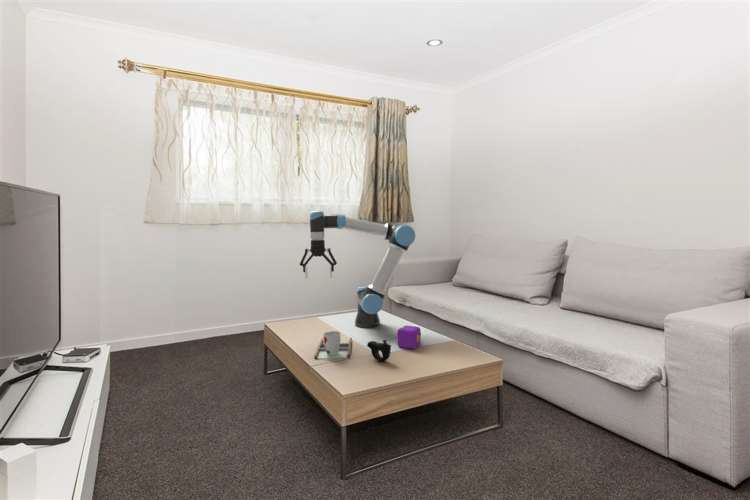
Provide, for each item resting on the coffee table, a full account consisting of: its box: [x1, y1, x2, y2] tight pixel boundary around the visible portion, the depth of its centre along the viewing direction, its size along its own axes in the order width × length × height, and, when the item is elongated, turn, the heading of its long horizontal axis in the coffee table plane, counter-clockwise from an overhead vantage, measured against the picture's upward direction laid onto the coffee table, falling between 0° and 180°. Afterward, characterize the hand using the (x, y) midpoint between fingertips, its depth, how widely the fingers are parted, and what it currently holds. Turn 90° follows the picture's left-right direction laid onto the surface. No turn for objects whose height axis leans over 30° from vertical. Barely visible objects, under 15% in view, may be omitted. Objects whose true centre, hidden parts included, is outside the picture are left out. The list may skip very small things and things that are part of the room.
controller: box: [366, 339, 392, 363], centre depth 189 cm, size 4×12×10 cm, turn 49°
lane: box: [313, 337, 353, 360], centre depth 206 cm, size 16×27×2 cm, turn 0°
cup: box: [322, 330, 341, 356], centre depth 198 cm, size 8×8×10 cm
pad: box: [316, 351, 348, 360], centre depth 198 cm, size 14×10×1 cm
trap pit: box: [320, 342, 349, 351], centre depth 207 cm, size 14×8×2 cm, turn 90°
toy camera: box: [396, 325, 422, 350], centre depth 210 cm, size 11×14×10 cm
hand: (318, 278), depth 230 cm, fingers open, 13 cm apart
